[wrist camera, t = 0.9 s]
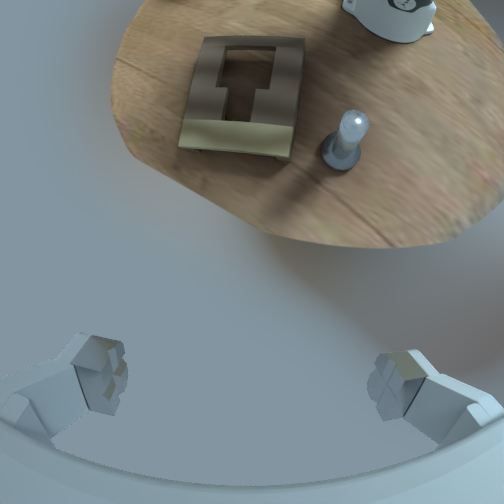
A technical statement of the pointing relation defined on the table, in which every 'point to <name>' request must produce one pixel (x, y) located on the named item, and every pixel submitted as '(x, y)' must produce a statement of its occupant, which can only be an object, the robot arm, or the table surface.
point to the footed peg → (345, 141)
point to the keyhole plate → (264, 106)
